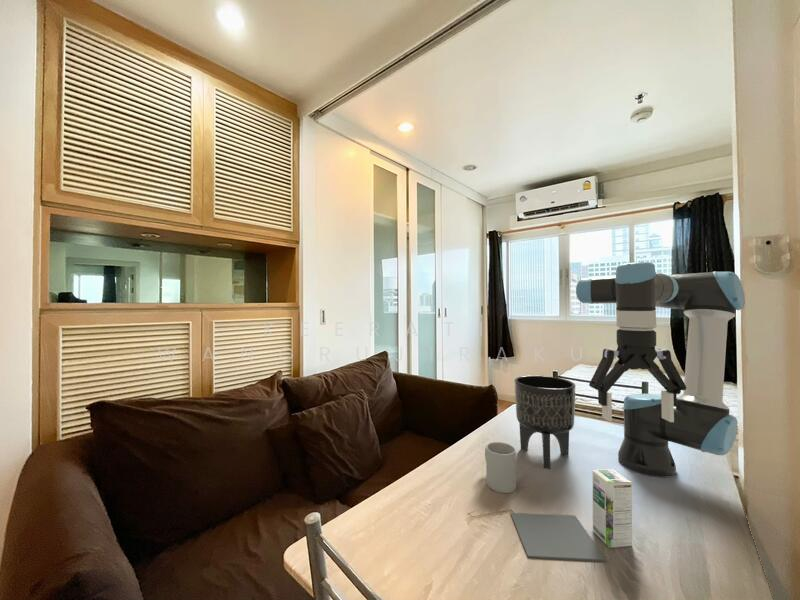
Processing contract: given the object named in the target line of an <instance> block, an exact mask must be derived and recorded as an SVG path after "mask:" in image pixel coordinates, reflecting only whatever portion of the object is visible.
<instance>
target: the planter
mask: <svg viewBox="0 0 800 600" xmlns="http://www.w3.org/2000/svg"><path fill="white" fill-rule="evenodd" d="M514 394H515V411H516V412H515V414H516V420H517V422H518V423H519V437H520V440H519V442H520V450H522V451H524V452H526V451H527V450H528V449H529V443H530V440H531V439H530V438H532V435H534V434H536V433H538V434H541V439H542V440H541V441H542V461H543V462H542V465H543V469H548V470H551V435H553V436H554V437H555V439H556V440H557V443H558V445H559V450H560V455H562V456H563V457H569V454H570V453H569V450H570V431H571V430H573V429H574V425H575V410H576V409H575V407H576V404H575V403H576V384H575V383H574V382H573V381H571V380H568V379H565V378H561V377H556V376H555V377H554V376H549V375H548V376H547V375H523V376H518V377H516V378H515V379H514Z"/></svg>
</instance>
